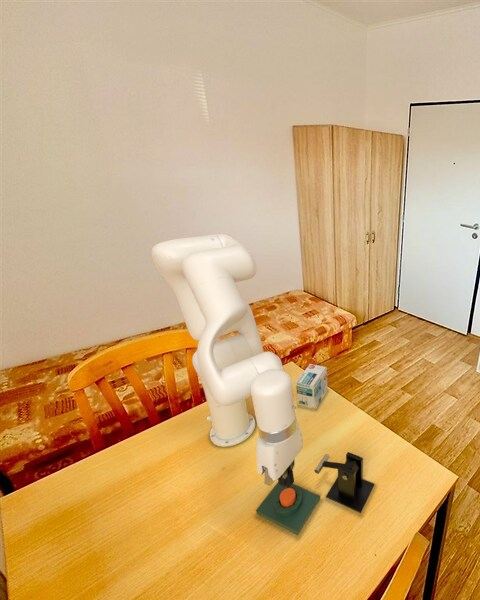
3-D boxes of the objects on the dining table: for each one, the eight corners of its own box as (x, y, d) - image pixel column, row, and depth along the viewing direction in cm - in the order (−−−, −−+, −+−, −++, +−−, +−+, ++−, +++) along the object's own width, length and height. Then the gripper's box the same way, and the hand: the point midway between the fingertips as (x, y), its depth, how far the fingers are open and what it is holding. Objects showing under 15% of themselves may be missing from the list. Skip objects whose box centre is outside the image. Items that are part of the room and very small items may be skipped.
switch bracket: (326, 499, 81) (324, 468, 76) (342, 472, 88) (341, 443, 83) (360, 515, 78) (361, 484, 73) (374, 486, 85) (375, 456, 80)
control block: (256, 515, 77) (254, 505, 75) (281, 483, 84) (280, 473, 83) (298, 537, 73) (296, 527, 71) (320, 501, 81) (319, 491, 79)
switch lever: (316, 474, 81) (312, 467, 81) (326, 459, 85) (323, 452, 85) (351, 480, 76) (348, 473, 76) (361, 463, 81) (358, 456, 80)
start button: (277, 503, 76) (276, 498, 75) (287, 490, 79) (286, 485, 78) (289, 509, 75) (288, 504, 74) (299, 495, 78) (298, 491, 77)
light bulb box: (315, 410, 108) (314, 386, 103) (297, 406, 109) (294, 382, 104) (328, 389, 117) (327, 366, 113) (311, 386, 118) (309, 363, 114)
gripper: (286, 397, 74) (293, 452, 81) (235, 446, 61) (249, 506, 69) (314, 406, 71) (318, 462, 79) (266, 460, 59) (277, 520, 66)
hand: (286, 482), depth 74 cm, fingers closed
